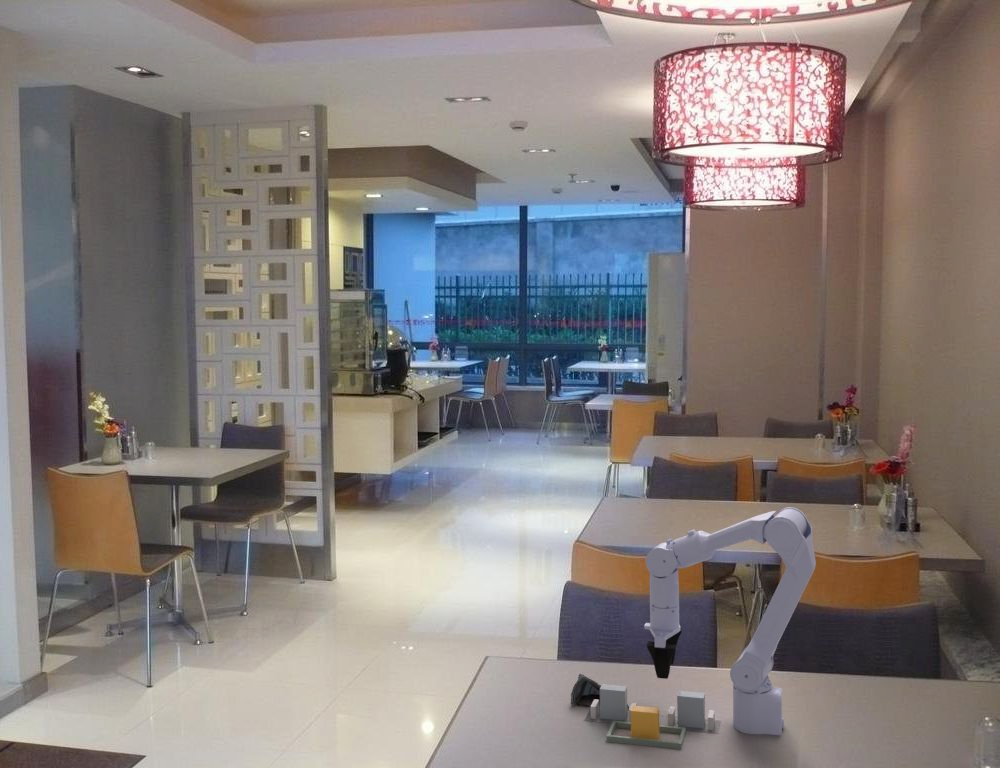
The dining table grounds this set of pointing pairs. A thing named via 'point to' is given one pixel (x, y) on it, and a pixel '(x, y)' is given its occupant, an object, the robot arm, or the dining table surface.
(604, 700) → the block
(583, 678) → the chocolate cake
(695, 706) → the block
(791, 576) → the robot arm
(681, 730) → the tray
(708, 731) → the block
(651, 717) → the block
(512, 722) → the dining table surface
